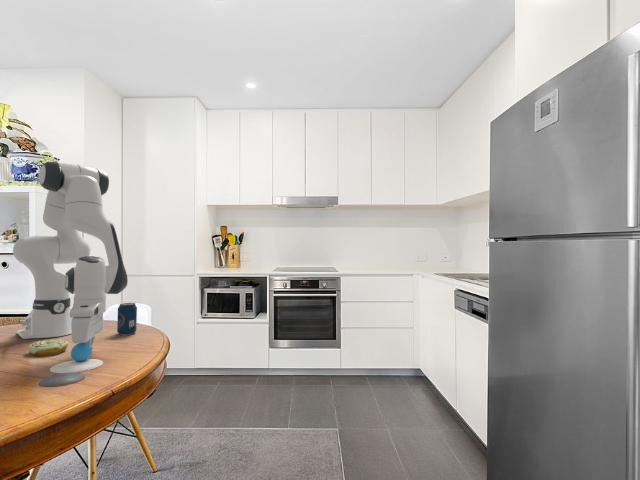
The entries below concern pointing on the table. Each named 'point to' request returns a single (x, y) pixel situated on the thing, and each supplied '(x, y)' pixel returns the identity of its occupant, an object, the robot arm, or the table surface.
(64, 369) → the disc
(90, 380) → the table surface
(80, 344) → the ball
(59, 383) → the disc
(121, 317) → the soda can
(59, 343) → the decorated donut
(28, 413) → the table surface
